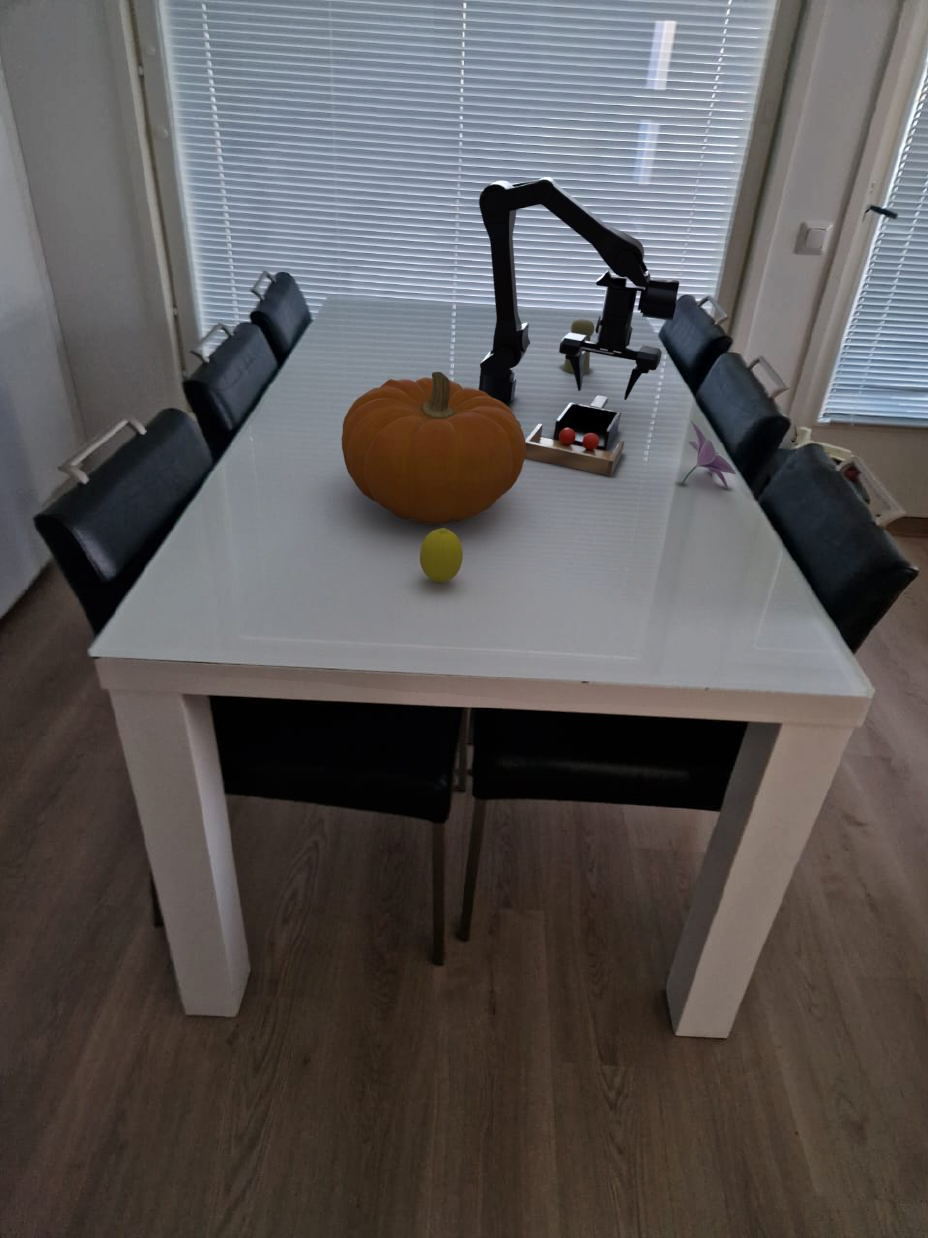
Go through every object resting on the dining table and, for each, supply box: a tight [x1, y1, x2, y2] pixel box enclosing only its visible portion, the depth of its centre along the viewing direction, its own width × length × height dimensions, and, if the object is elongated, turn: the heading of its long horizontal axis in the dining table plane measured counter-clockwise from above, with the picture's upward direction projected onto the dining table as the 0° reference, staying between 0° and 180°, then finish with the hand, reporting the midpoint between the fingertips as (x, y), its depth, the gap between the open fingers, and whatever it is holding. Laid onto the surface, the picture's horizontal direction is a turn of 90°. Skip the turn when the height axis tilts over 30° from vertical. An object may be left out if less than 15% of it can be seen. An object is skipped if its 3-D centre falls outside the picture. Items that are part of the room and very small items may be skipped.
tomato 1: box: [558, 428, 576, 445], centre depth 150 cm, size 3×3×3 cm
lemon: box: [419, 527, 464, 584], centre depth 107 cm, size 6×6×8 cm
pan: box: [553, 395, 622, 450], centre depth 158 cm, size 18×10×4 cm, turn 160°
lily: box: [680, 420, 737, 490], centre depth 141 cm, size 12×12×10 cm
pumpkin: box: [341, 371, 526, 525], centre depth 123 cm, size 28×28×20 cm
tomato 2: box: [582, 433, 599, 450], centre depth 149 cm, size 3×3×3 cm
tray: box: [525, 423, 625, 477], centre depth 147 cm, size 16×10×3 cm, turn 70°
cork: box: [562, 318, 595, 375], centre depth 186 cm, size 6×6×11 cm
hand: (602, 394), depth 162 cm, fingers open, 9 cm apart
